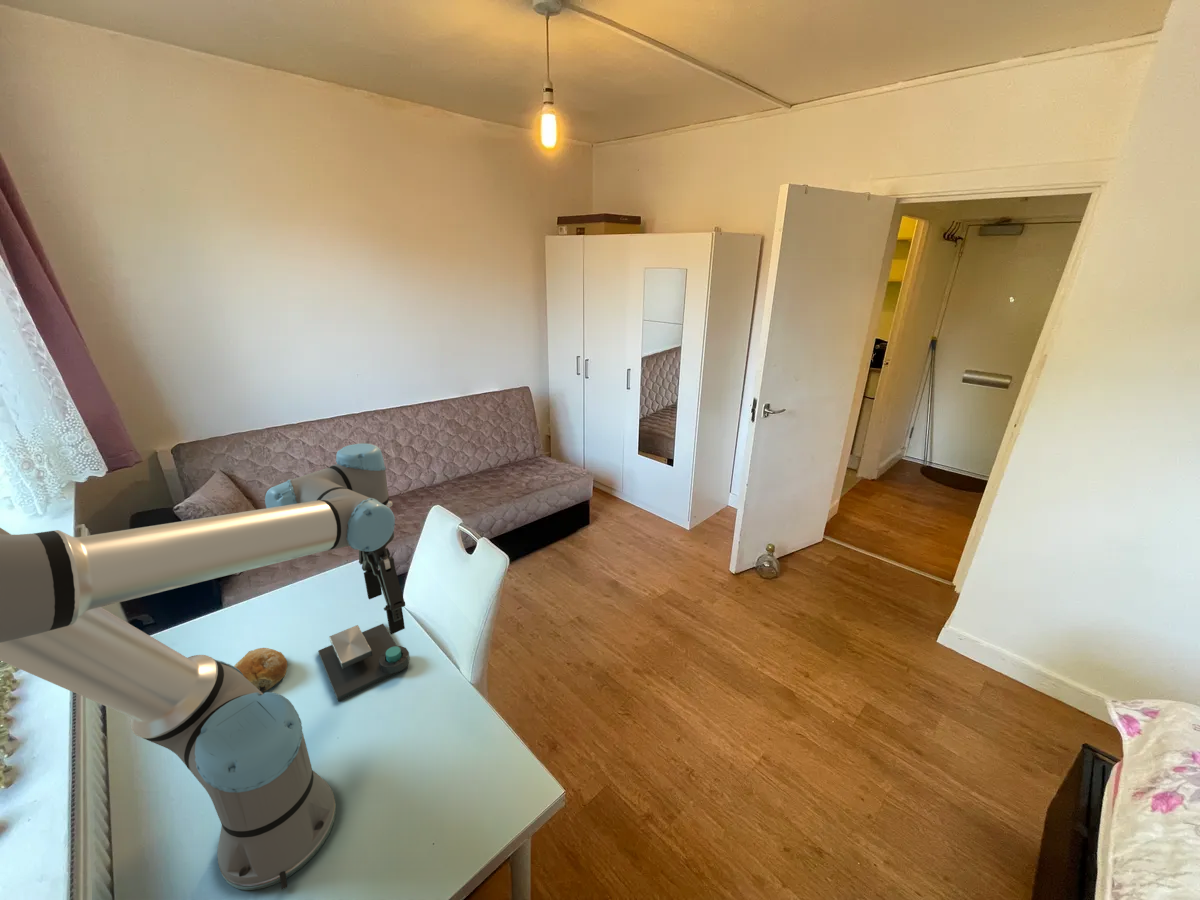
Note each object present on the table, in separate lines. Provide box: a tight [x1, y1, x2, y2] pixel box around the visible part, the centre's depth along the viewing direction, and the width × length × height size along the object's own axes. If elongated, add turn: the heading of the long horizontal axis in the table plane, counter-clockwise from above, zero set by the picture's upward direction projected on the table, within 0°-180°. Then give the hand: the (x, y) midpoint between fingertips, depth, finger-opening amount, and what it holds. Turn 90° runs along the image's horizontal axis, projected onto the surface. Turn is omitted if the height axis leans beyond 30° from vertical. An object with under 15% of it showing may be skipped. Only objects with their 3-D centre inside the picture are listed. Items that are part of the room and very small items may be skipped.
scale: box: [318, 623, 411, 702], centre depth 107 cm, size 17×15×3 cm
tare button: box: [386, 645, 401, 663], centre depth 105 cm, size 3×3×2 cm
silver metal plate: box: [328, 624, 372, 669], centre depth 107 cm, size 10×6×2 cm, turn 40°
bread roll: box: [233, 647, 288, 694], centre depth 102 cm, size 10×10×8 cm
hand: (385, 612), depth 101 cm, fingers open, 13 cm apart
